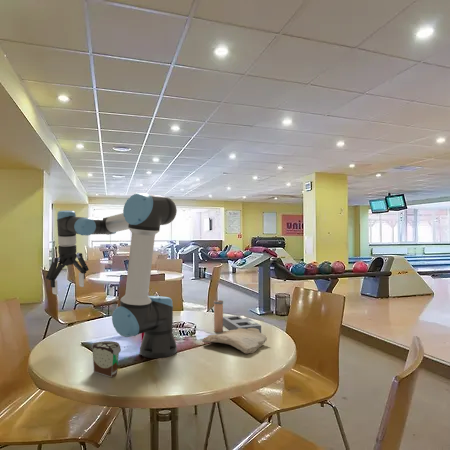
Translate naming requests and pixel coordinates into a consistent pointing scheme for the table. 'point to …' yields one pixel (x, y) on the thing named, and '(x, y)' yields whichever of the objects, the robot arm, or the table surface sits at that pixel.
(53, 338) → the table surface
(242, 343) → the beige flat rock
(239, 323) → the socket board
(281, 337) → the table surface
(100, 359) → the food container
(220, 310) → the plug
